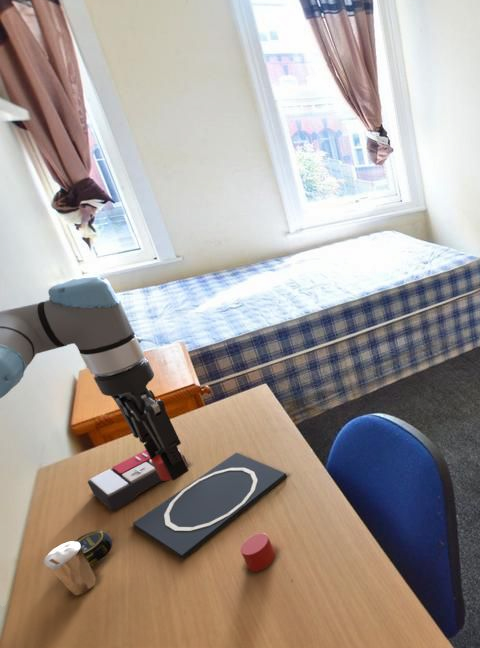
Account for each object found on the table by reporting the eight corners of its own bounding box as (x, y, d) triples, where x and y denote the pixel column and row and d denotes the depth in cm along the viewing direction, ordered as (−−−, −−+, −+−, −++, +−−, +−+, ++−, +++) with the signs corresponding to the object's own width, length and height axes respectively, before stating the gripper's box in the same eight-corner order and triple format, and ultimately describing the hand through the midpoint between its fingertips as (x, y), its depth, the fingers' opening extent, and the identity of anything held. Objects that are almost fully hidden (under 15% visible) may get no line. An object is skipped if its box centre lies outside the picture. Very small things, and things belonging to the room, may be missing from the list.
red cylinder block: (167, 483, 86) (159, 466, 85) (155, 476, 88) (146, 460, 87) (191, 467, 90) (183, 451, 88) (179, 461, 92) (171, 445, 90)
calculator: (183, 453, 107) (105, 495, 96) (189, 468, 109) (113, 511, 97) (162, 439, 113) (85, 478, 101) (167, 454, 115) (92, 493, 103)
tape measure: (65, 563, 86) (55, 548, 85) (110, 536, 91) (101, 522, 90) (74, 581, 82) (64, 567, 81) (120, 553, 87) (111, 538, 86)
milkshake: (62, 608, 78) (32, 566, 74) (72, 582, 82) (44, 542, 78) (96, 594, 80) (68, 553, 76) (104, 570, 84) (78, 529, 80)
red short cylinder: (258, 575, 80) (250, 558, 78) (242, 565, 82) (235, 549, 80) (280, 554, 83) (273, 538, 82) (264, 545, 86) (258, 529, 84)
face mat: (183, 559, 85) (181, 555, 84) (134, 526, 93) (132, 522, 93) (287, 476, 102) (285, 472, 101) (237, 455, 110) (236, 452, 110)
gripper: (169, 363, 78) (218, 470, 88) (120, 347, 87) (169, 447, 96) (119, 386, 73) (177, 499, 82) (71, 367, 81) (128, 471, 90)
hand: (173, 471), depth 89 cm, fingers closed on red cylinder block, 4 cm apart
